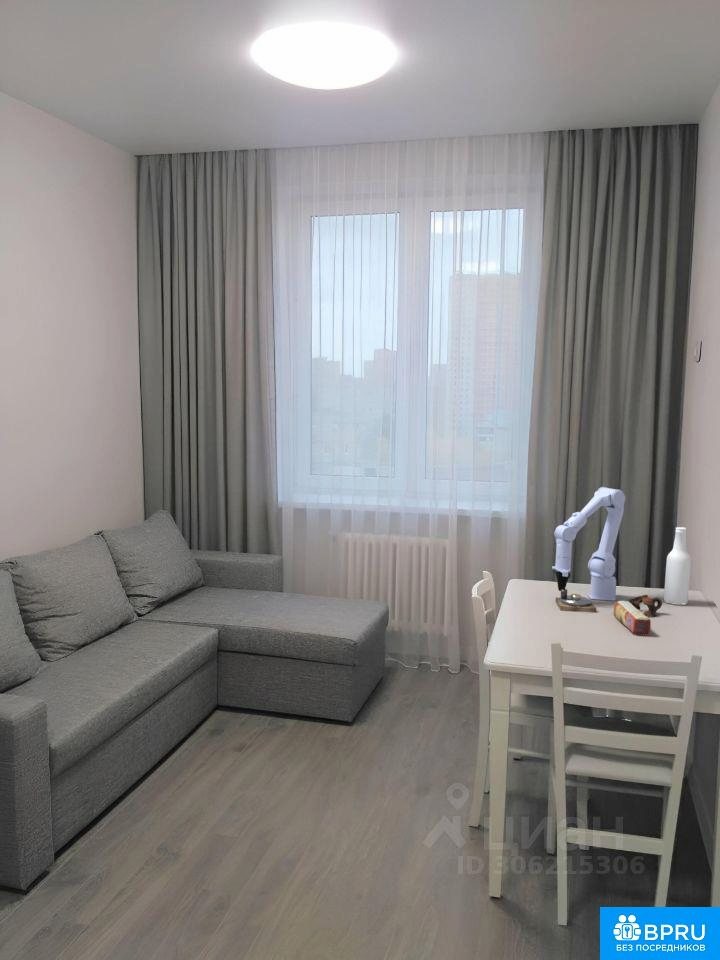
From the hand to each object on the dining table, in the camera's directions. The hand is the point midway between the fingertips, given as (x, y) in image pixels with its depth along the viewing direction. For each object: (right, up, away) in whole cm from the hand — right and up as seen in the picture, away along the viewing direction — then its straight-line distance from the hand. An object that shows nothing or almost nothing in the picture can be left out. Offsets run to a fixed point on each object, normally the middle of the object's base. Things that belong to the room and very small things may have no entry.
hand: (561, 590), depth 300 cm
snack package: (+17, -9, -30) cm, 35 cm away
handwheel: (+4, -4, -7) cm, 8 cm away
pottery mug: (+28, -7, -13) cm, 31 cm away
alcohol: (+46, -6, +4) cm, 47 cm away
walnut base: (+4, -5, -6) cm, 9 cm away
